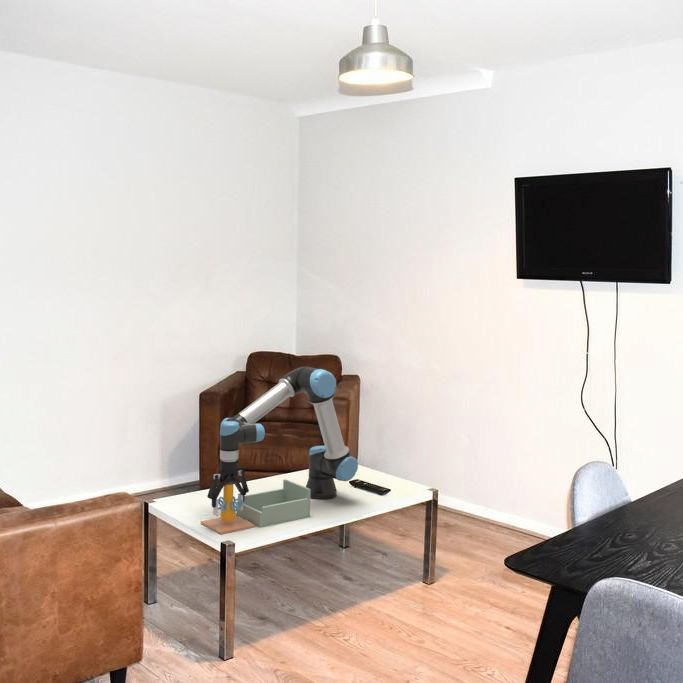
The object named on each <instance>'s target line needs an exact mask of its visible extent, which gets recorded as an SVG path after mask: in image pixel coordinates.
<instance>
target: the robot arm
mask: <svg viewBox="0 0 683 683" xmlns="http://www.w3.org/2000/svg"><path fill="white" fill-rule="evenodd" d="M336 389H337V380H336V377H335V376H334V374H332V373H331V372H330V371H329V370H328V371H327V370H326V369H323V368H315V367H312V366H311V367H310V366H300V367H298V368H295V369H293V370H292V371H290V372H288V373H286V374H285V375H284V376H283V377H281V378H280V379H279V380H278V383H277V384H276V385H275V386H273V387H272V388H270V389H269V390H267V392H265V393H264V394H263V395H261V396H260V397H258V398H257V399H255V401H253V402H252V403H250V404H249V405H248V406H246V407H245V408H243V410H241V411H239V413H237V414H236V415H234V416H233V417H226V418H224V419H223V420H222V421H221V422H220V428H219V459H220V460H219V473H213V474H212V480H211V483H210V487H209V488H208V489H209V490H208V493H207V497H206V498H207V499H209V500H211V508H212V513H213V515H214V516H216V517H217V516H219V510H218V508H219V504H218V499H219V495H220V493H221V491H222V490H223V489H224V485H225V484H226V483H229V482H230V483H233V485H234V486H235V487H236V489H237V490H238V492H239V493H238V494H237V498H239V499H241V500H242V501H243V502H244V499H245V496H246V495H247V493H249V492H250V490H249V486H248V484H247V480H246V476H245V472H246V471H245V470H243V469H239V460H238V459H239V449H240V448H239V445H243V444H245V445H246V444H252V443H258V442H261V441H264V438H265V436H266V435H265V434H266V432H265V431H266V430H265V428H264V425H262V423H257V422H258V421H259V420H261V419H262V418H263V417H264V416H266V415H267V414H268V413H270V412H271V411H272V410H274V409H275V408H277V407H278V406H279V405H280V404H282V403H283V402H284V401H285V400H287V399H288V398H289V397H290V398H294V396H296V395H298V394H301V393H304V394H306V396H307V399H308V402H309V403H310V404H311V405H313V408H314V412H315V415H316V419H317V422H318V426H319V429H320V434H321V436H322V440H323V444H324V445H315V446H312V447H311V448H309V453H308V479H307V482H306V486H305V487H306V488H309V489H311V493H310V499H316V500H329V499H333V498H335V497H337V496H338V495H337V492H338V491H337V487H336V482H335V481H334V480H337V481H339V482H340V481H341V482H348V481H350V480H352V479H353V478H354V477H355V476H356V473H357V472H358V469H359V462H358V460H357V458H355V456H352V455H351V452H350V448H349V446H347V445H345V442H344V438H343V434H342V430H341V428H340V424H339V420H338V416H337V413H336V409H335V406H334V402H333V399H334V397H335V393H336ZM238 476H239V478H238ZM237 502H238V507H239V506H240V505H241V501H239V500H237ZM238 510H240V511H243V506H242V507H241V508H239V509H238Z"/></svg>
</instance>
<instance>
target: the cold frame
mask: <svg viewBox="0 0 683 683" xmlns="http://www.w3.org/2000/svg"><path fill="white" fill-rule="evenodd" d="M282 481H283V484H282V485H283V487H282V488H278V489H273V490H268V491H264V492H258V493H252V494H246V495H245V499H244V502H243V511H240V510H237V511H235V515H236V516H238V517H240V518H242V519H244V520H246V521H248V522H250V523H252V524H254V525H255V526H256V527H258V528H263V527H267V526H268V527H269V526H271V525H277V524H281V523H286V522H290V521H291V522H292V521H296V520H301V519H305V518H309V517H311V498H310V493H311V489H309V488H306V486H304V485H301V484H299V483H295V482H294V481H290V480H289V479H283V480H282ZM236 502H237V504H238V501H236Z"/></svg>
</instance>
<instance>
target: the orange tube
mask: <svg viewBox="0 0 683 683" xmlns="http://www.w3.org/2000/svg"><path fill="white" fill-rule="evenodd" d="M222 490H223V493H222V494H223V496H220V497H219V496H218V498H217V499H218V511H219V510H220V517H221V520H222V521H226V522H229V521H234V520H235V515H236V511H237V510H238V509H239V508H241V507H242V506H243V501H242V500H241V499H239V498H238V497H237V498H236V497H235V496H234V483H233V482H229V483H226V484H225V485H224V486H223V488H222ZM238 500H239V501H241V505H240V506H239V507H238V504H237V502H238Z"/></svg>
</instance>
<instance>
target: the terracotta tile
mask: <svg viewBox="0 0 683 683" xmlns="http://www.w3.org/2000/svg"><path fill="white" fill-rule="evenodd" d="M200 524H201V525H202V526H204V527H206V528H208V529H210V530H211V531H213V532H216V533H217V534H219V535H225V534H231V533H234V532H238V531H243V530H248V529H253V528H256V525H255V524H252V523H250V522H248V521H246V520H244V519H242V518H240V517H238V516H236V514H235V520H234V521H229V522H226V521H222V520H221V516H220V517H217V518H215V517H214V518H211V519H206V520H201V521H200Z"/></svg>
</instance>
